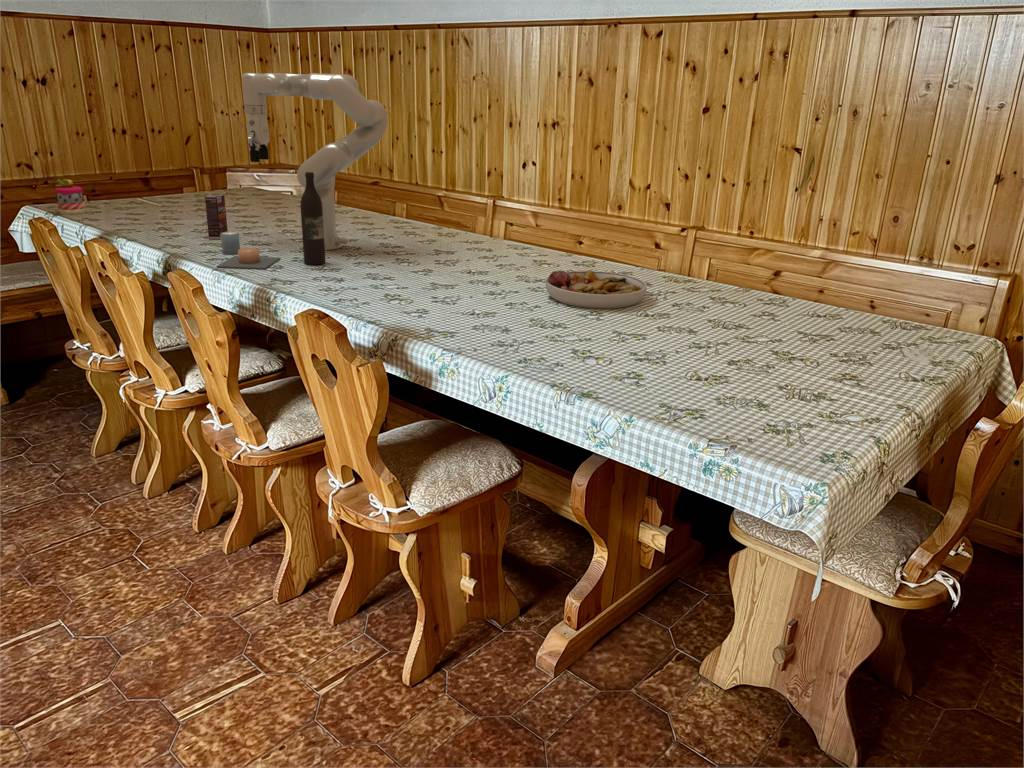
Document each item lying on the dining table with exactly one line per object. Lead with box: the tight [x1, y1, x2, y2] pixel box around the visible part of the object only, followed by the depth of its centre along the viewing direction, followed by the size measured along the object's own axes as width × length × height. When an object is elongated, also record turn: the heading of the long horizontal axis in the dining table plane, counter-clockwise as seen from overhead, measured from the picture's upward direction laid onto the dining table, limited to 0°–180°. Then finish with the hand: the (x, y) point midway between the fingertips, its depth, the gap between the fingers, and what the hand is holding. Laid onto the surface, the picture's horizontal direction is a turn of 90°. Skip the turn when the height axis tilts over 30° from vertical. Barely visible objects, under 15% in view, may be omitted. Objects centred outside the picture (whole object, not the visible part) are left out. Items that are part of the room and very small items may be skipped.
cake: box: [54, 178, 86, 216], centre depth 343 cm, size 10×11×15 cm
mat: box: [216, 255, 282, 271], centre depth 264 cm, size 16×16×1 cm
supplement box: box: [204, 193, 229, 240], centre depth 302 cm, size 9×5×16 cm, turn 179°
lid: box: [237, 247, 260, 264], centre depth 263 cm, size 7×7×4 cm
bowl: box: [544, 269, 648, 310], centre depth 234 cm, size 30×30×8 cm
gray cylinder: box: [220, 231, 241, 255], centre depth 278 cm, size 6×6×7 cm
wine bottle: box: [300, 172, 326, 266], centre depth 262 cm, size 7×7×30 cm
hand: (259, 160), depth 284 cm, fingers open, 9 cm apart
